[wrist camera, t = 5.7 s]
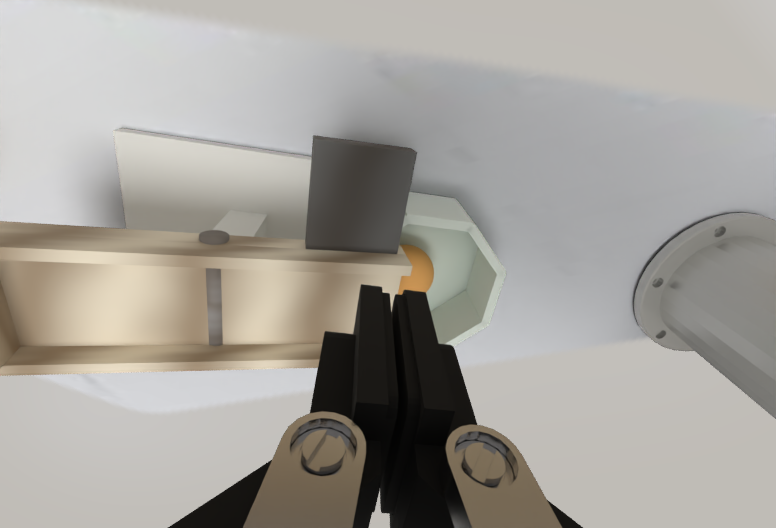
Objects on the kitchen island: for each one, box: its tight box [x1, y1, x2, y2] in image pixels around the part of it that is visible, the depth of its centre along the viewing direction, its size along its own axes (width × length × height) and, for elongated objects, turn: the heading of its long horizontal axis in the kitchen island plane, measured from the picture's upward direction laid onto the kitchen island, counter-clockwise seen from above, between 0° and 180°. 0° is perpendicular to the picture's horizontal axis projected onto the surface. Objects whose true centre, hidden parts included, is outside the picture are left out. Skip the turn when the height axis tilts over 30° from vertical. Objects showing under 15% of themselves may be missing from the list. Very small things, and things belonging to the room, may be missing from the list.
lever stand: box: [113, 128, 312, 240], centre depth 25 cm, size 16×13×7 cm
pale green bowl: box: [399, 192, 506, 347], centre depth 28 cm, size 10×10×5 cm
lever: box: [0, 135, 417, 376], centre depth 19 cm, size 20×13×3 cm, turn 81°
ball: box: [398, 245, 434, 295], centre depth 27 cm, size 4×4×4 cm
